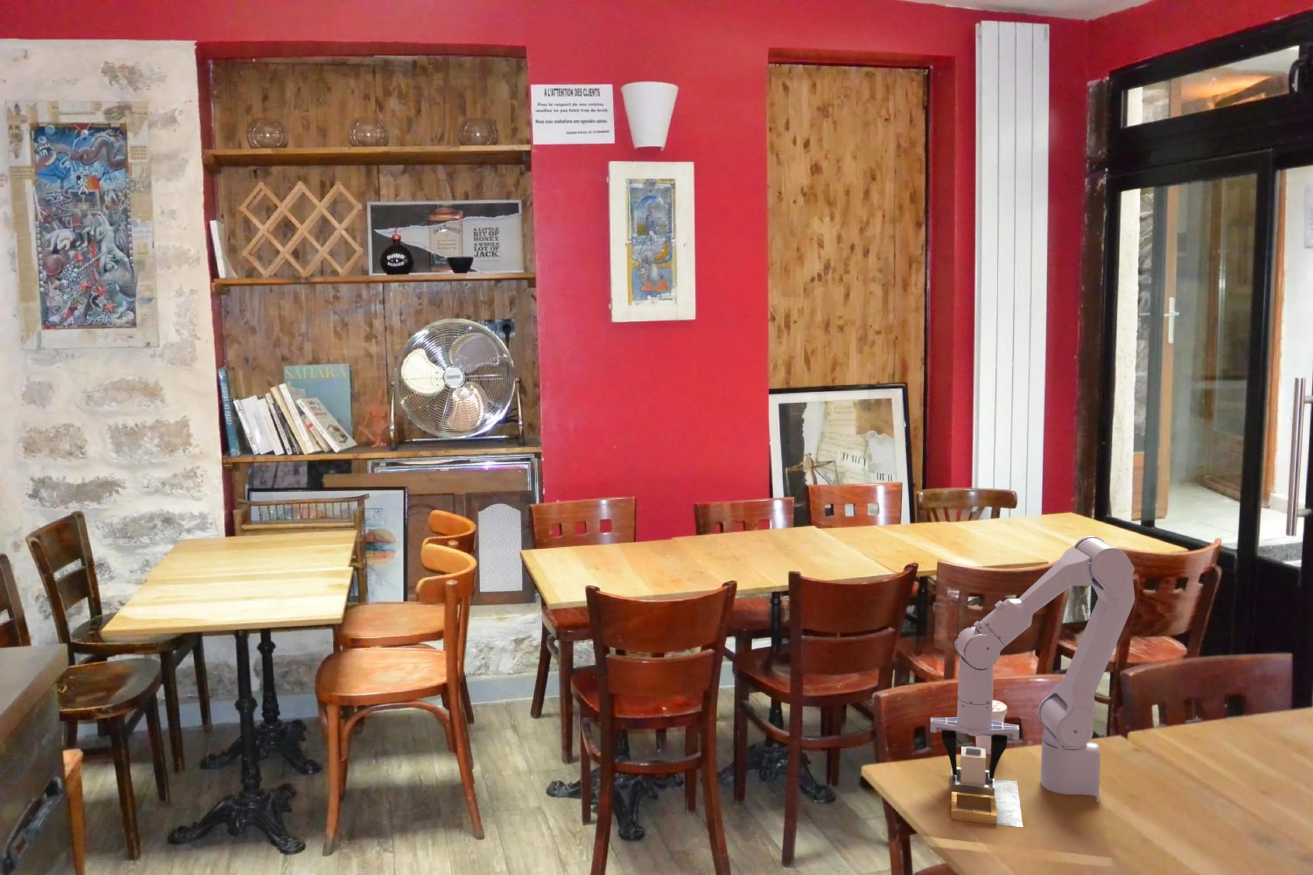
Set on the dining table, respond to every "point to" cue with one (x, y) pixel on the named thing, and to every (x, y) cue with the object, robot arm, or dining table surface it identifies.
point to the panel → (986, 801)
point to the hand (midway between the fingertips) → (972, 774)
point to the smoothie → (997, 715)
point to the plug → (973, 765)
